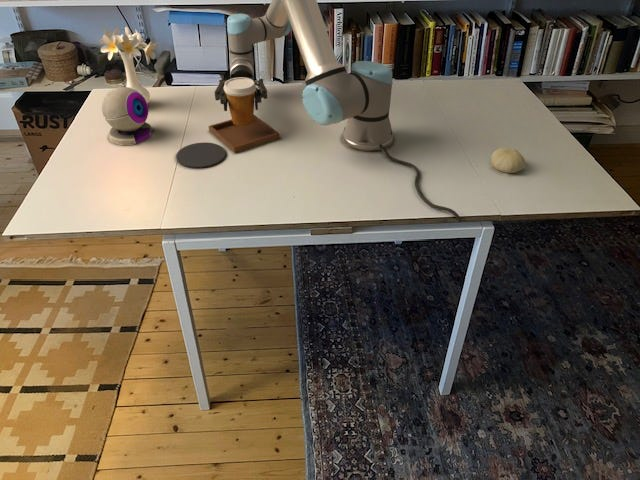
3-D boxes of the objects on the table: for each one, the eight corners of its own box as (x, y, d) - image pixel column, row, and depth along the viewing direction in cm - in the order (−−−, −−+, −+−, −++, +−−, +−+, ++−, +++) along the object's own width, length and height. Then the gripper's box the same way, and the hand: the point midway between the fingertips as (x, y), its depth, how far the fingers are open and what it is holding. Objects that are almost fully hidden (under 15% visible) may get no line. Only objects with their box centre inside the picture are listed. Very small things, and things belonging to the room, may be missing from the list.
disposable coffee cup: (265, 119, 166) (262, 81, 158) (245, 131, 160) (241, 92, 152) (240, 111, 170) (237, 74, 162) (220, 123, 164) (215, 85, 156)
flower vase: (161, 115, 178) (146, 38, 162) (106, 113, 179) (86, 36, 163) (172, 99, 188) (160, 24, 172) (120, 96, 189) (103, 22, 173)
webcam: (136, 148, 161) (126, 100, 152) (100, 141, 164) (87, 94, 155) (160, 128, 171) (151, 83, 161) (125, 122, 174) (114, 77, 164)
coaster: (234, 158, 156) (233, 157, 156) (189, 173, 150) (189, 171, 150) (211, 139, 165) (211, 138, 165) (168, 153, 159) (168, 151, 159)
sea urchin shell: (509, 173, 147) (499, 146, 148) (491, 181, 155) (481, 155, 155) (534, 165, 151) (524, 138, 151) (515, 173, 158) (506, 147, 158)
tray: (279, 138, 166) (279, 133, 165) (234, 153, 159) (234, 147, 158) (252, 118, 177) (252, 113, 175) (209, 131, 169) (208, 126, 168)
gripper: (275, 85, 178) (277, 116, 160) (210, 88, 176) (205, 119, 158) (274, 63, 173) (276, 92, 155) (207, 65, 171) (202, 95, 154)
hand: (240, 106), depth 157 cm, fingers closed on disposable coffee cup, 8 cm apart
